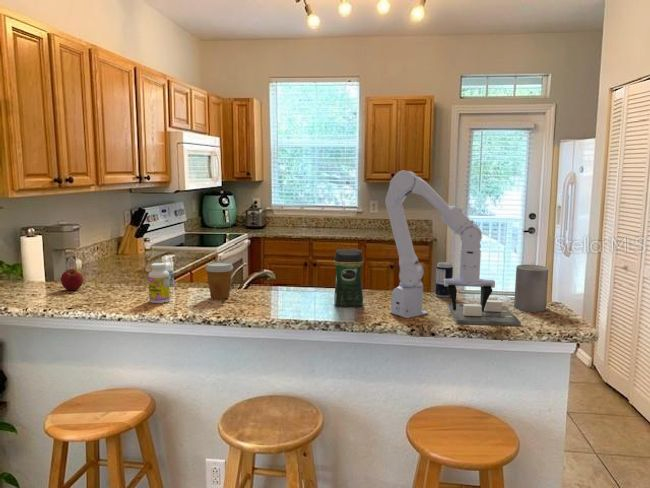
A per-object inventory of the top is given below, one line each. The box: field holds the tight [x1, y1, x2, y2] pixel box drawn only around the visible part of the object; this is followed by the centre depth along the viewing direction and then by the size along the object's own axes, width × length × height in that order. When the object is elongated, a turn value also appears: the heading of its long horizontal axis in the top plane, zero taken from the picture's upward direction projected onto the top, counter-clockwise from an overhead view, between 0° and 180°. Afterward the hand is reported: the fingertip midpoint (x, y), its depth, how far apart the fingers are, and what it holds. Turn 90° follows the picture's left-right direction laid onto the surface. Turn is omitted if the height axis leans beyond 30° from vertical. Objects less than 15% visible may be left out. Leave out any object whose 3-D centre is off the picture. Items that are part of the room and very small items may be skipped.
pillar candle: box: [513, 262, 549, 313], centre depth 159 cm, size 10×10×15 cm
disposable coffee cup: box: [205, 261, 234, 300], centre depth 170 cm, size 10×10×12 cm
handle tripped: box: [462, 303, 482, 316], centre depth 147 cm, size 5×2×3 cm, turn 83°
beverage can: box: [435, 261, 454, 298], centre depth 175 cm, size 6×6×12 cm
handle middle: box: [484, 299, 503, 312], centre depth 152 cm, size 5×2×3 cm, turn 83°
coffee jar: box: [333, 248, 364, 308], centre depth 162 cm, size 10×8×19 cm
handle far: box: [479, 294, 498, 303], centre depth 158 cm, size 5×2×3 cm, turn 83°
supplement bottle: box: [148, 262, 171, 304], centre depth 165 cm, size 7×7×13 cm
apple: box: [60, 268, 85, 291], centre depth 180 cm, size 8×8×8 cm
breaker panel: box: [447, 303, 522, 327], centre depth 151 cm, size 18×19×1 cm
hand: (467, 310), depth 147 cm, fingers open, 7 cm apart
